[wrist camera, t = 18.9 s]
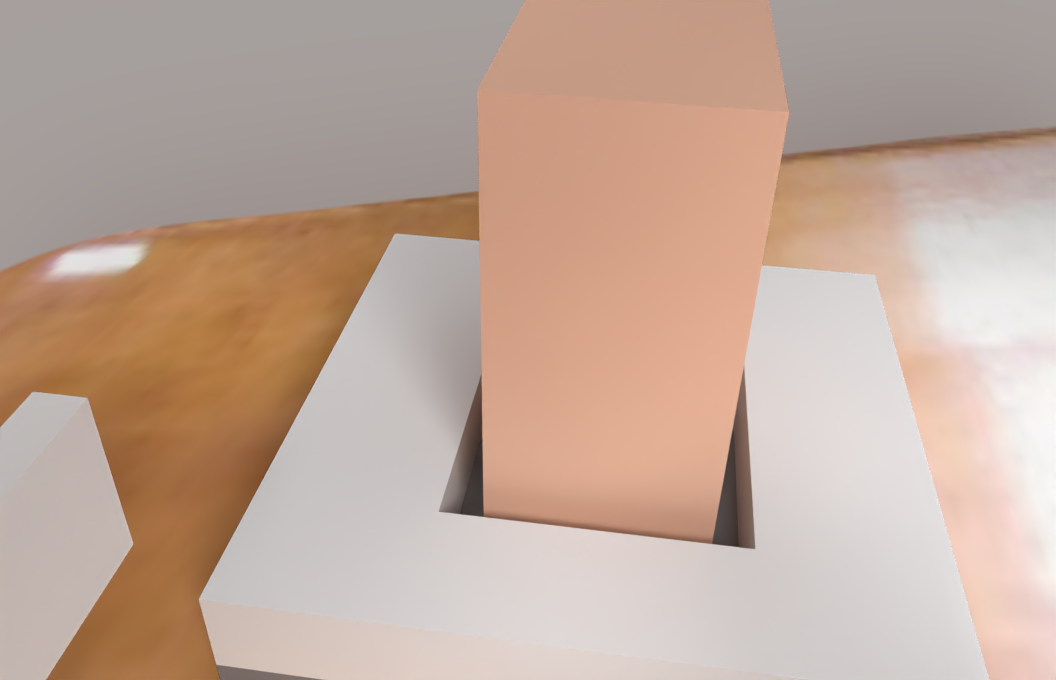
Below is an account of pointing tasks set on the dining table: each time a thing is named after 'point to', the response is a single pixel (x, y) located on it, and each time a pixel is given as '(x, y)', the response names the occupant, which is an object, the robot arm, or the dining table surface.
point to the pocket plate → (589, 555)
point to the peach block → (622, 255)
